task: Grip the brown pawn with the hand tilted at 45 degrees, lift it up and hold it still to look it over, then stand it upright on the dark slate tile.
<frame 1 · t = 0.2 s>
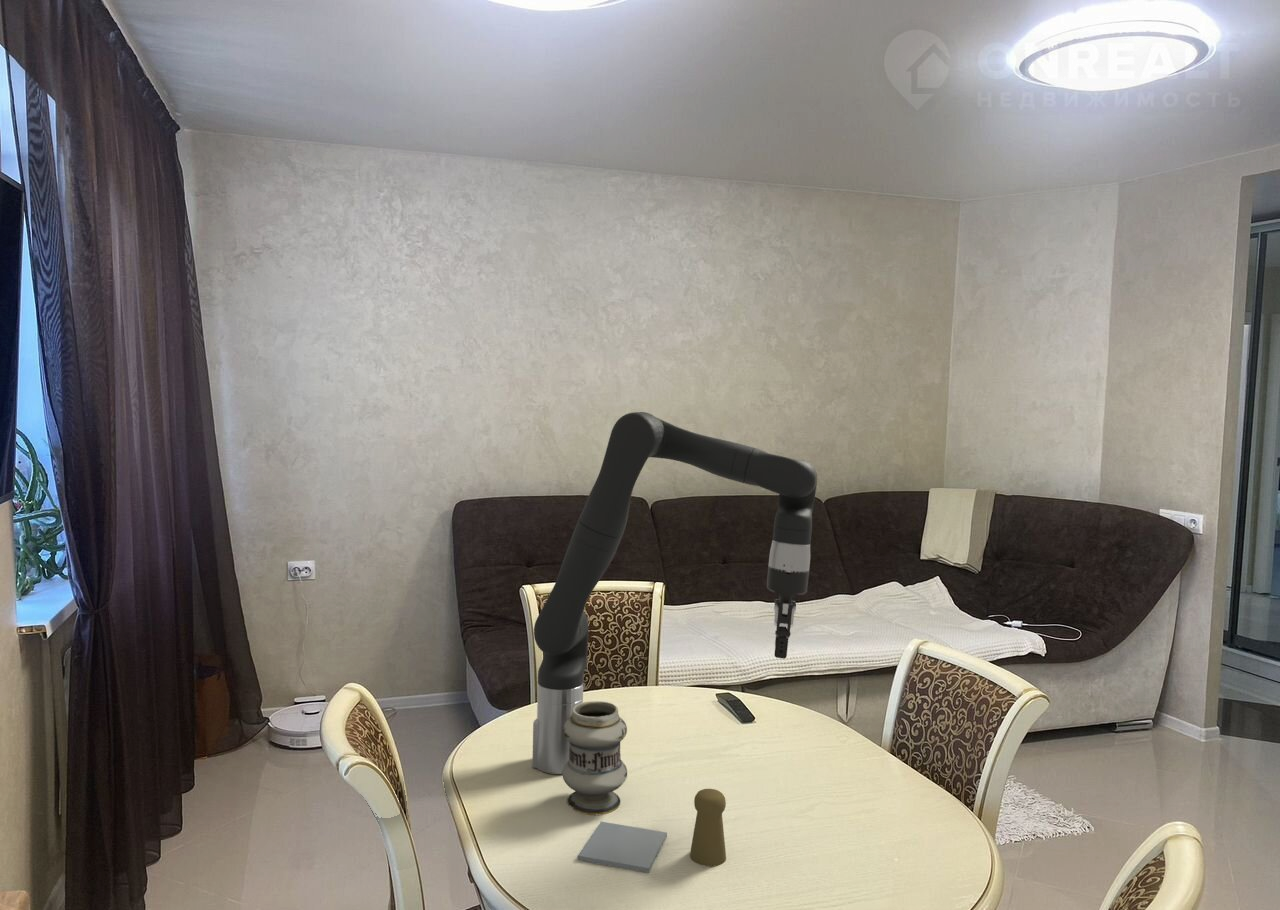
hand: (780, 652, 163), 29 cm above the table, tool pointing down, fingers open, 8 cm apart
apothecary jar: (593, 803, 163), on the table
slate tile: (623, 848, 147), on the table
brown pawn: (708, 857, 145), on the table
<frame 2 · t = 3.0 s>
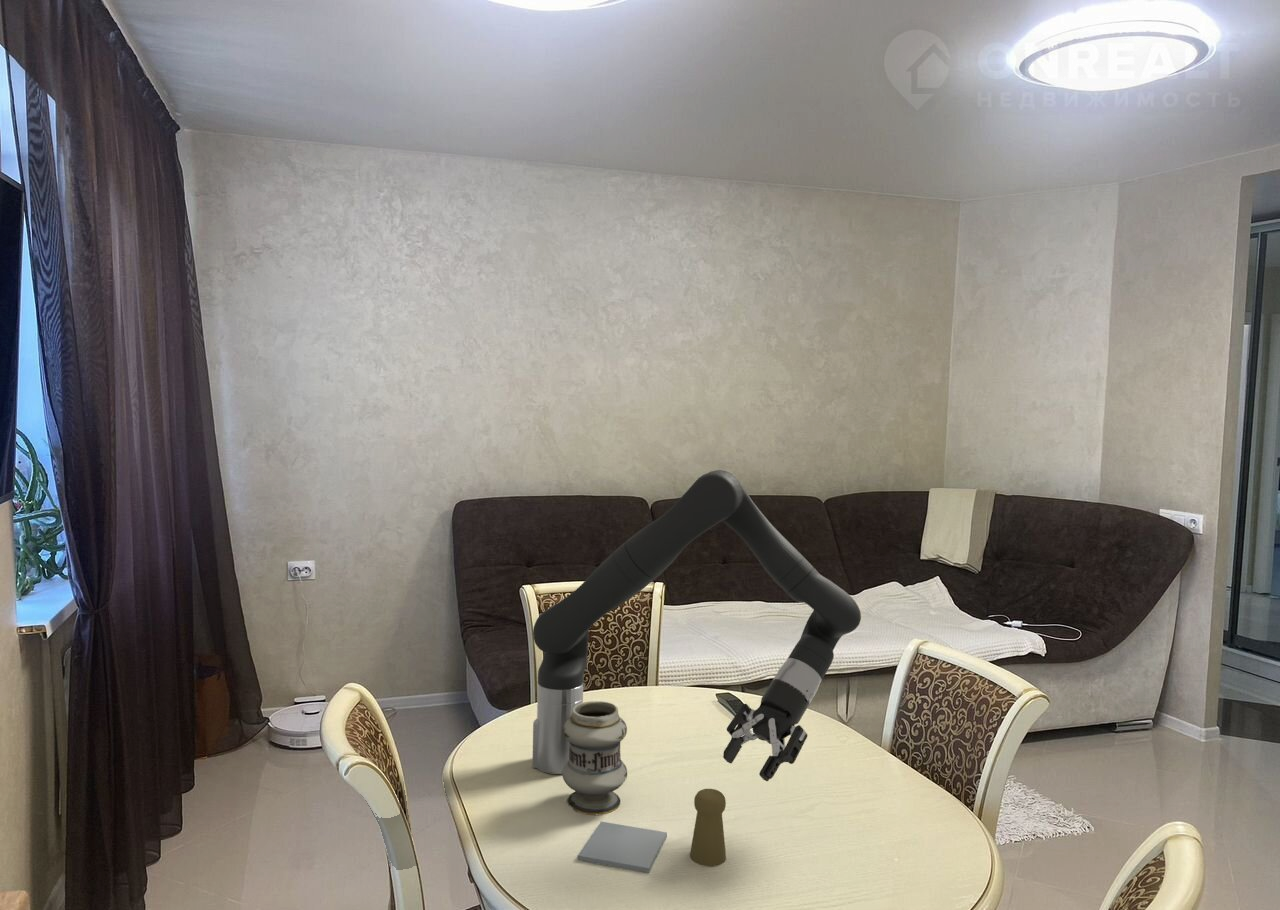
hand: (744, 769, 149), 13 cm above the table, tool tilted 45°, fingers open, 8 cm apart
nothing on the table moved.
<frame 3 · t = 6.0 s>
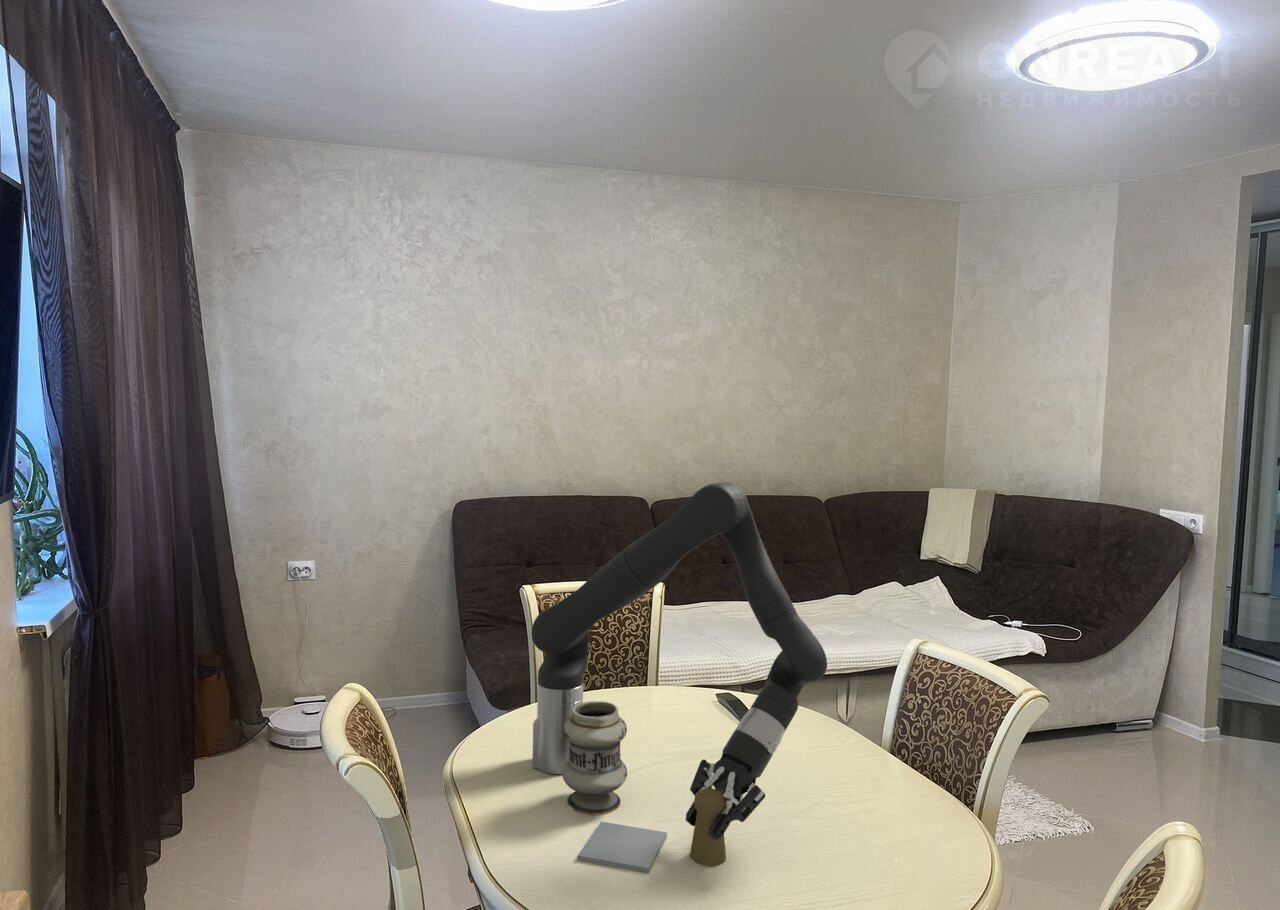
hand: (701, 829, 143), 5 cm above the table, tool tilted 45°, fingers closed on brown pawn, 5 cm apart
brown pawn: (708, 857, 145), on the table, touching gripper
everything else where it was.
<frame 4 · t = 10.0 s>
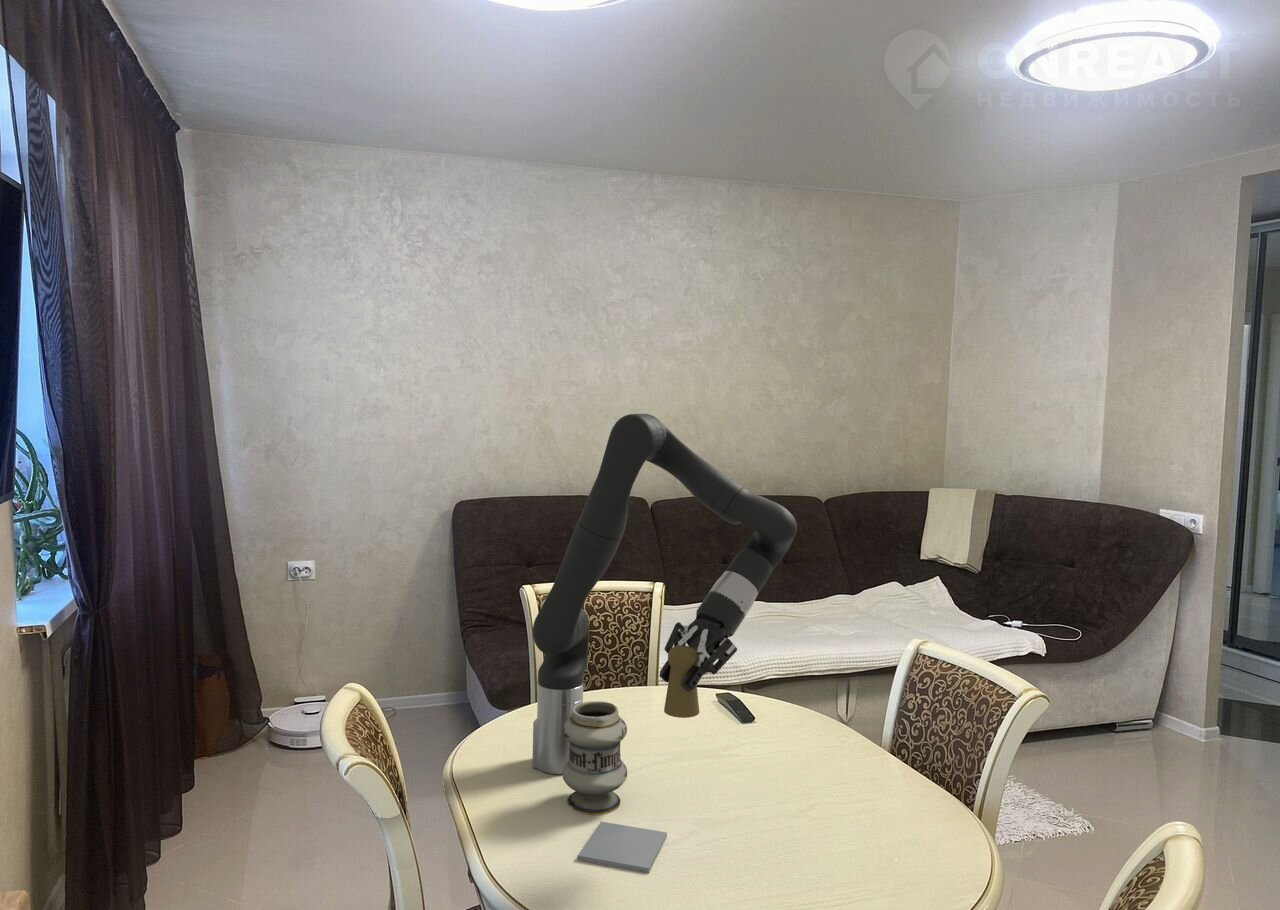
hand: (674, 683, 146), 28 cm above the table, tool tilted 45°, fingers closed on brown pawn, 5 cm apart
brown pawn: (681, 712, 148), point 23 cm above the table, touching gripper
everything else where it was.
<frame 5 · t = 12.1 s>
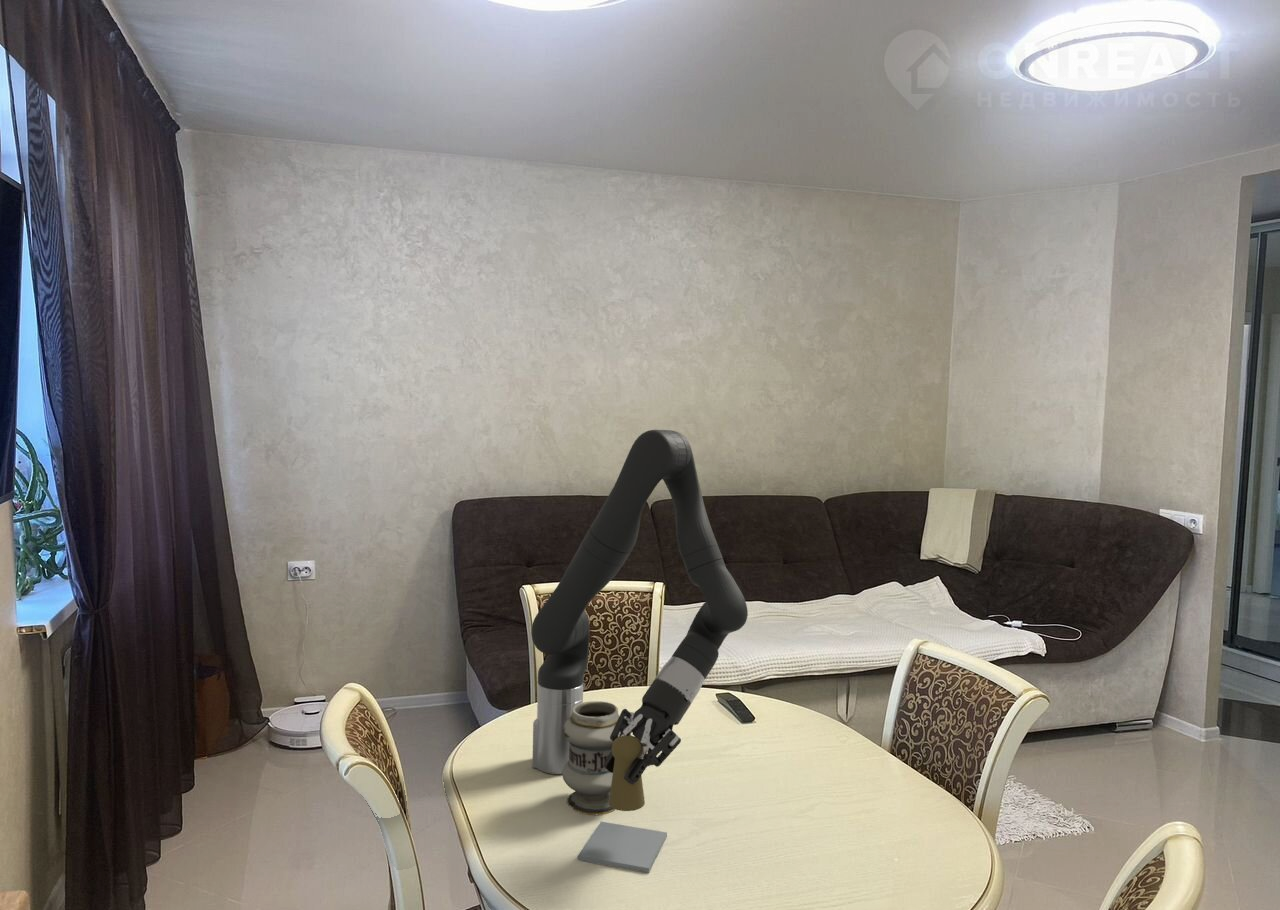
hand: (618, 775, 144), 13 cm above the table, tool tilted 45°, fingers closed on brown pawn, 5 cm apart
brown pawn: (626, 803, 146), point 8 cm above the table, touching gripper
everything else where it was.
when the fingers open (7 cm above the table, at t = 14.0 s): brown pawn drops 1 cm, resting on slate tile.
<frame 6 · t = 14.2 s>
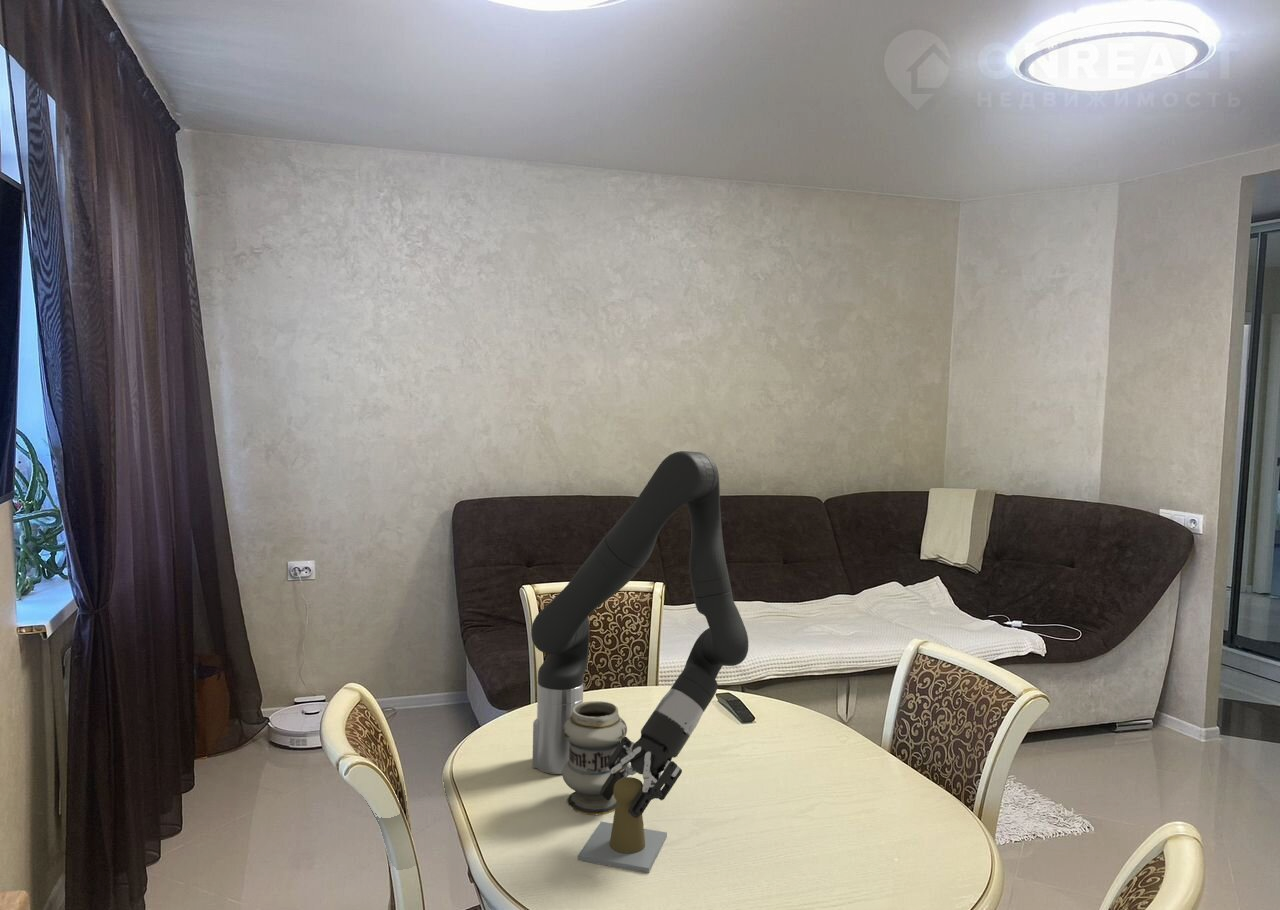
hand: (617, 805, 145), 8 cm above the table, tool tilted 45°, fingers open, 7 cm apart
brown pawn: (627, 845, 146), point 1 cm above the table, touching slate tile
everything else where it was.
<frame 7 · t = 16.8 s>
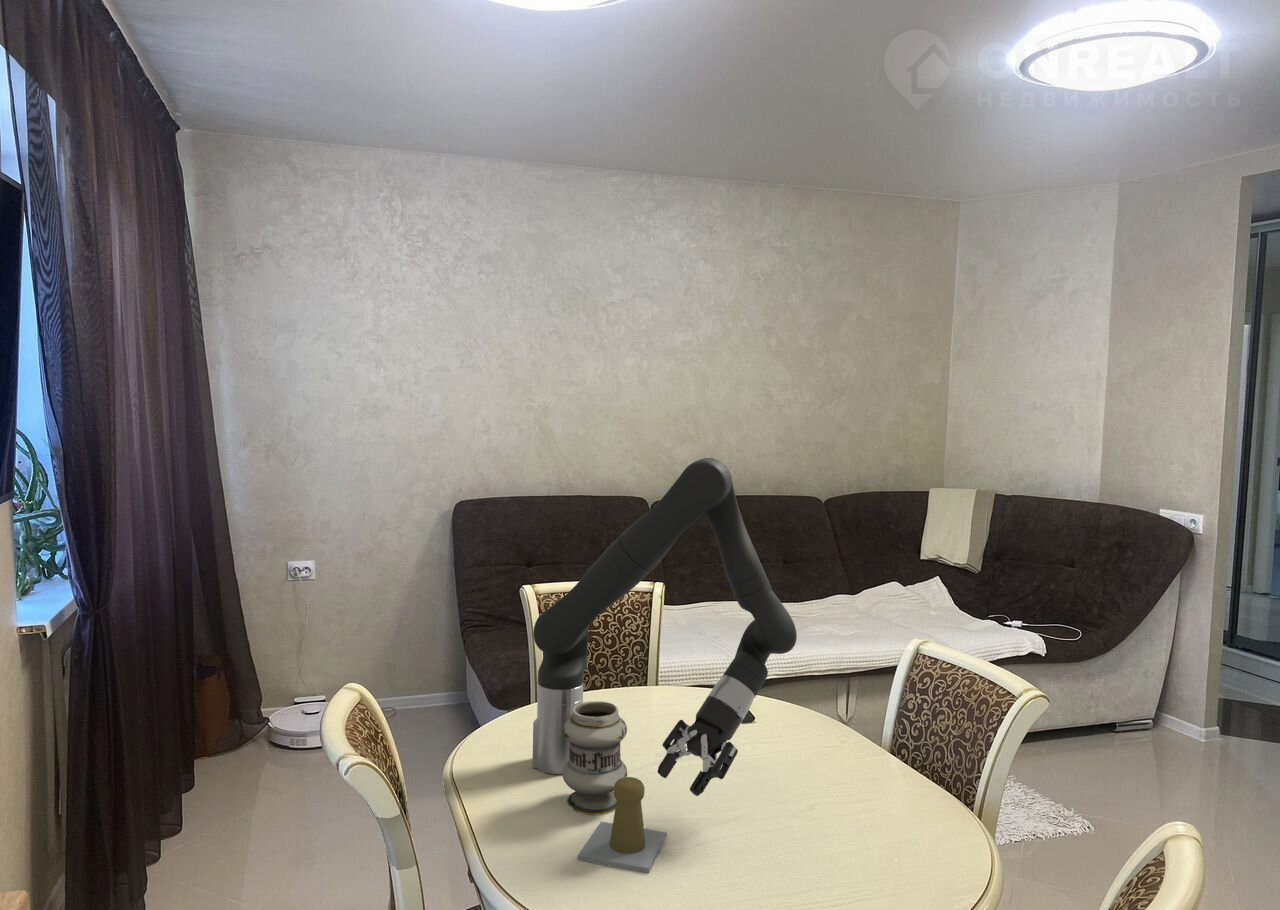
hand: (677, 784, 153), 8 cm above the table, tool tilted 45°, fingers open, 8 cm apart
nothing on the table moved.
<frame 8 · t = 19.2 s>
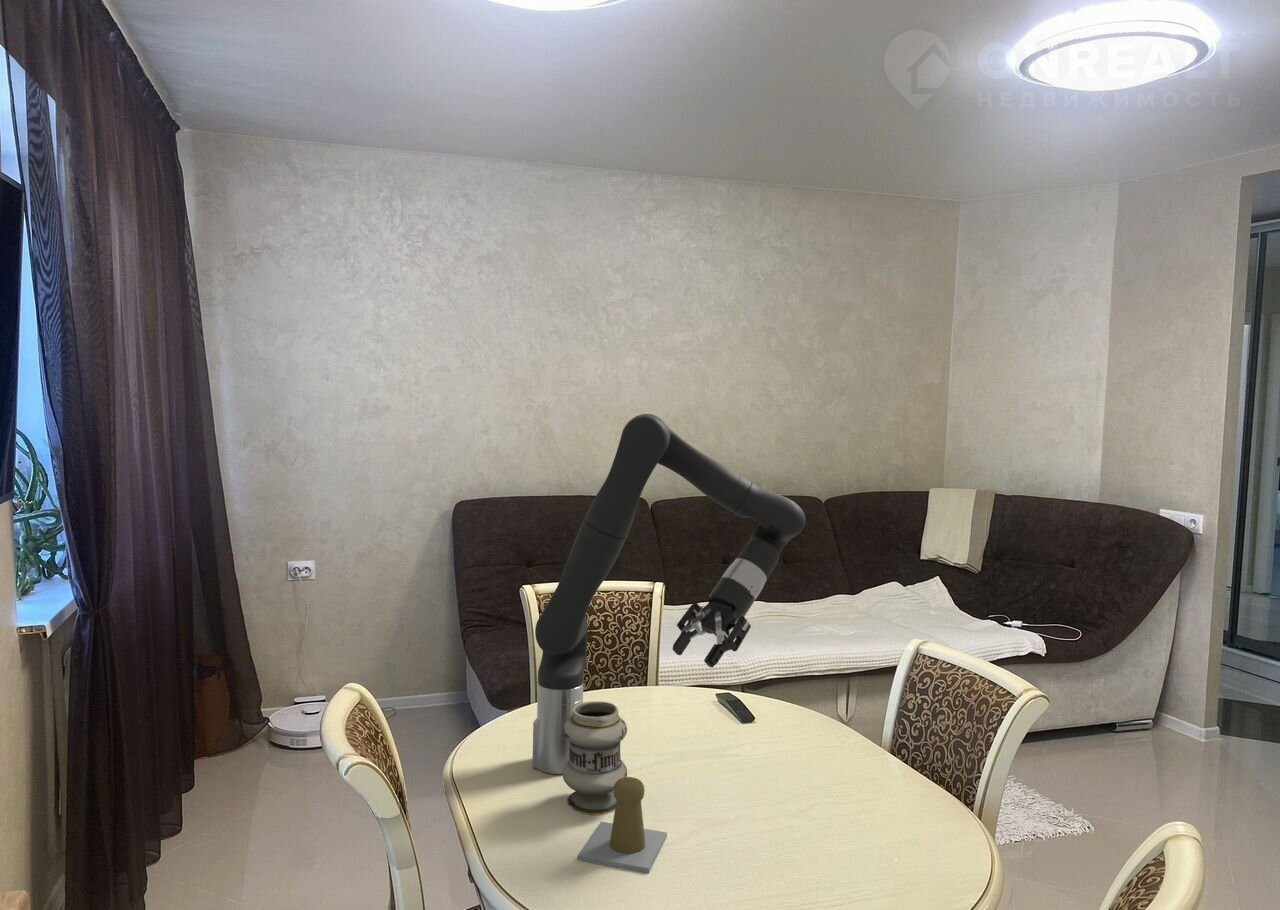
hand: (691, 658, 158), 29 cm above the table, tool tilted 45°, fingers open, 8 cm apart
nothing on the table moved.
at the end: brown pawn inside the target area on the slate tile (0.6 cm from its centre), point 0.6 cm above the slate tile's base; brown pawn tilted 0°; the gripper is holding nothing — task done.
